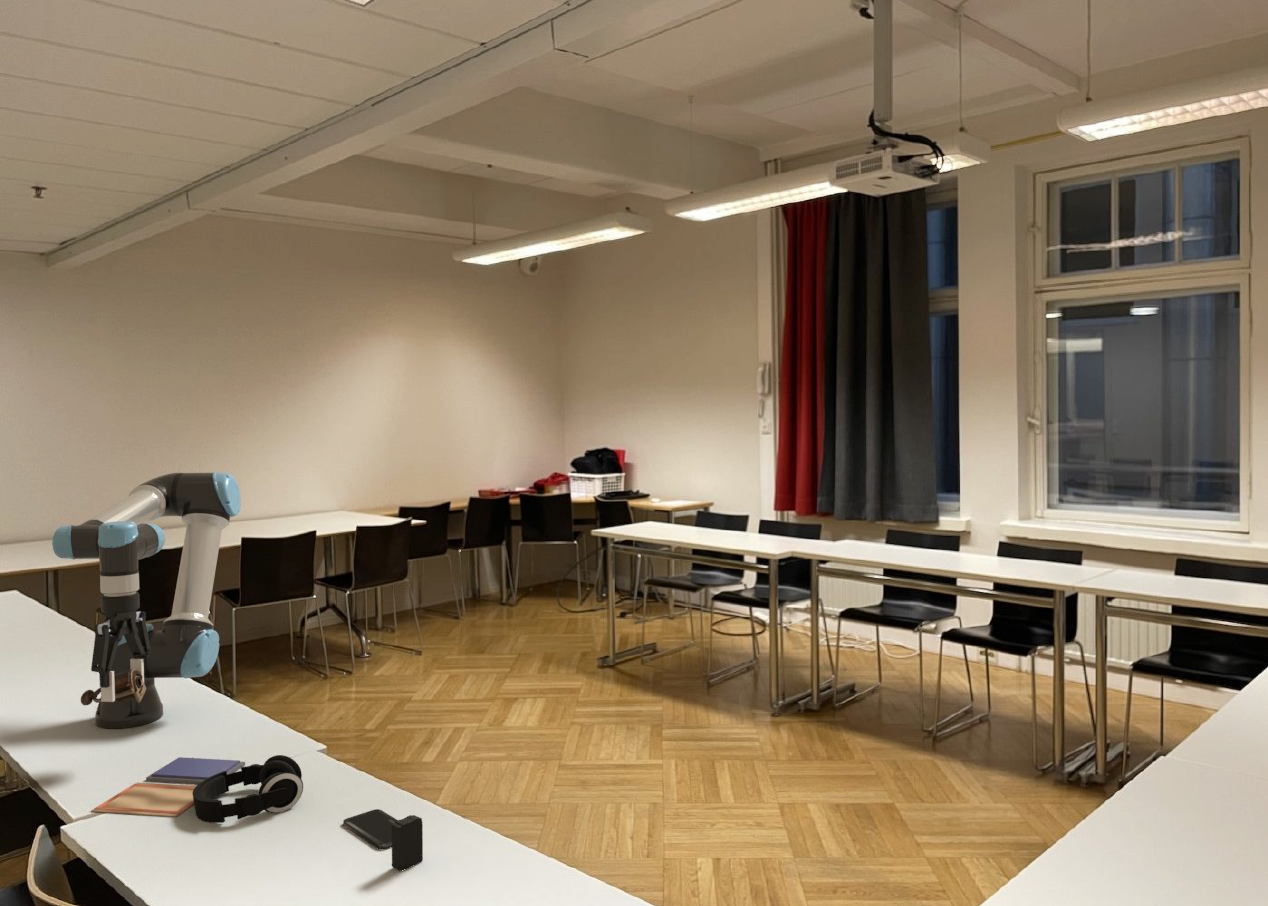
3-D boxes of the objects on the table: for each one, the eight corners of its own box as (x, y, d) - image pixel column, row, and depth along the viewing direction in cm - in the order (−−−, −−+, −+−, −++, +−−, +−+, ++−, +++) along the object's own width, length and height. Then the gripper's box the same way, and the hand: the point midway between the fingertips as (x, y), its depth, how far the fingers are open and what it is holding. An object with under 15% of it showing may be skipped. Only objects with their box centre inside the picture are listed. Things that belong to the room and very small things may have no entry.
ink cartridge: (414, 857, 170) (414, 813, 169) (423, 861, 168) (422, 816, 168) (391, 868, 166) (390, 822, 165) (399, 872, 164) (399, 826, 164)
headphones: (300, 774, 186) (187, 801, 179) (306, 813, 187) (193, 841, 180) (298, 743, 203) (194, 767, 196) (303, 780, 204) (200, 804, 197)
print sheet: (137, 783, 202) (137, 782, 202) (217, 788, 200) (217, 786, 200) (90, 811, 188) (90, 810, 188) (176, 817, 186) (176, 816, 186)
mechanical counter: (125, 686, 206) (154, 664, 215) (70, 678, 207) (102, 656, 217) (128, 716, 208) (157, 692, 217) (74, 708, 210) (105, 685, 219)
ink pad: (177, 761, 214) (177, 756, 214) (245, 765, 212) (245, 759, 212) (146, 780, 204) (146, 775, 204) (216, 785, 201) (216, 779, 201)
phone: (380, 847, 172) (341, 820, 183) (380, 853, 172) (341, 825, 183) (419, 833, 178) (378, 807, 188) (419, 839, 178) (378, 813, 188)
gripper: (136, 582, 222) (139, 679, 224) (68, 602, 201) (72, 709, 202) (166, 583, 221) (169, 680, 223) (101, 604, 200) (105, 711, 201)
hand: (123, 694), depth 213 cm, fingers closed on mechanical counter, 9 cm apart
